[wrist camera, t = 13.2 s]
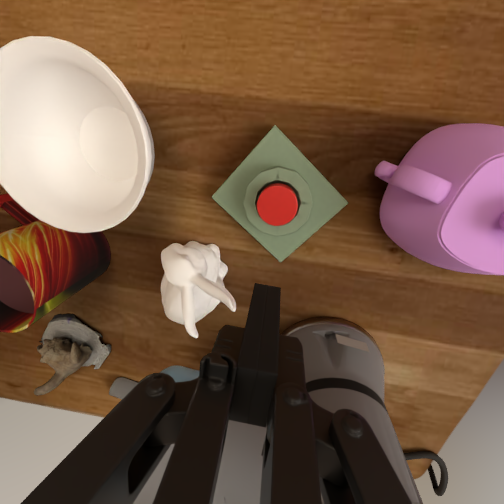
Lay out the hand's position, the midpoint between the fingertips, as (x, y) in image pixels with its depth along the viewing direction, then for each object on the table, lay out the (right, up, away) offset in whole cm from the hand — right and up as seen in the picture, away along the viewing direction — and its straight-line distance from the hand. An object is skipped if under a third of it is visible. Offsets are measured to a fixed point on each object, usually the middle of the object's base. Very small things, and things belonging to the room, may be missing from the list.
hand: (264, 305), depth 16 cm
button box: (+2, +10, +16) cm, 18 cm away
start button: (+2, +8, +12) cm, 15 cm away
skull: (-29, -11, +28) cm, 42 cm away
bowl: (-16, +16, +16) cm, 28 cm away
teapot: (+21, +9, +14) cm, 27 cm away
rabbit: (-7, +2, +20) cm, 21 cm away
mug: (-27, +5, +21) cm, 34 cm away
